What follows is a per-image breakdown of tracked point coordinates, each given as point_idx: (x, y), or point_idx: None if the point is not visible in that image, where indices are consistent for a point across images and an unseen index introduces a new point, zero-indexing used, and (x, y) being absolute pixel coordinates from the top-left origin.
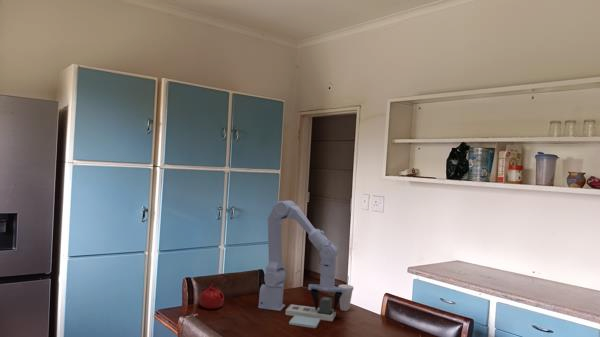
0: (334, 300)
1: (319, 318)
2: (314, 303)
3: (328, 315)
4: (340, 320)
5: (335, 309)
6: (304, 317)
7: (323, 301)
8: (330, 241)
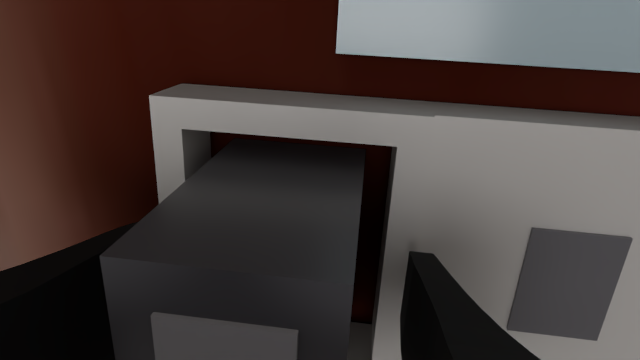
0: (5, 303)
1: (347, 52)
2: (472, 299)
3: (212, 99)
4: (105, 154)
5: (108, 234)
6: (589, 10)
7: (268, 263)
8: None
